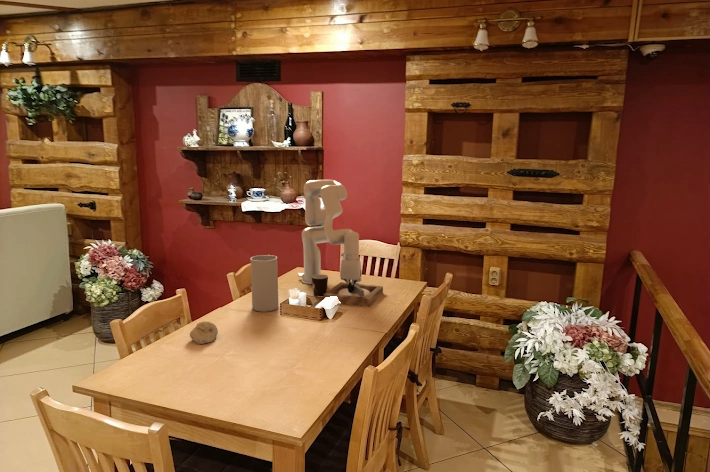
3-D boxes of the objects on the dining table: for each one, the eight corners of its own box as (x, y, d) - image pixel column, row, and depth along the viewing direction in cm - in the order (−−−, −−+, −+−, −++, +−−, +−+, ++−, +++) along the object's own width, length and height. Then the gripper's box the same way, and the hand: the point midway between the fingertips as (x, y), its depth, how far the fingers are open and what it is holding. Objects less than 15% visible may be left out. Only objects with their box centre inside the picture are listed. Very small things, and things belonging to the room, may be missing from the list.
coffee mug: (327, 297, 261) (327, 278, 259) (311, 297, 261) (310, 278, 259) (329, 290, 272) (329, 273, 271) (313, 290, 273) (313, 272, 271)
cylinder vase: (246, 309, 242) (244, 259, 237) (263, 302, 252) (261, 254, 248) (267, 314, 236) (266, 262, 231) (283, 306, 247) (282, 256, 242)
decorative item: (193, 324, 211) (214, 315, 210) (202, 343, 211) (223, 334, 210) (181, 331, 199) (203, 321, 198) (190, 351, 199) (213, 342, 198)
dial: (335, 291, 265) (335, 281, 264) (363, 288, 270) (363, 278, 269) (346, 303, 246) (346, 292, 245) (377, 300, 250) (377, 289, 249)
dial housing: (323, 302, 253) (323, 294, 253) (340, 289, 276) (340, 281, 275) (369, 307, 245) (369, 299, 245) (382, 293, 268) (383, 285, 267)
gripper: (334, 256, 250) (334, 292, 254) (362, 259, 245) (362, 295, 249) (340, 253, 257) (339, 288, 261) (367, 256, 252) (367, 291, 256)
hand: (350, 291), depth 255 cm, fingers closed
